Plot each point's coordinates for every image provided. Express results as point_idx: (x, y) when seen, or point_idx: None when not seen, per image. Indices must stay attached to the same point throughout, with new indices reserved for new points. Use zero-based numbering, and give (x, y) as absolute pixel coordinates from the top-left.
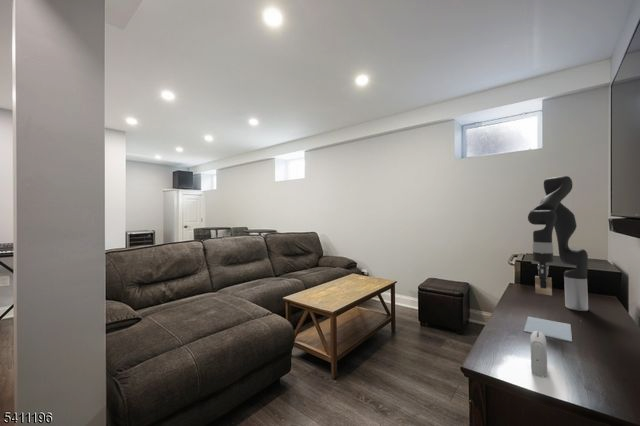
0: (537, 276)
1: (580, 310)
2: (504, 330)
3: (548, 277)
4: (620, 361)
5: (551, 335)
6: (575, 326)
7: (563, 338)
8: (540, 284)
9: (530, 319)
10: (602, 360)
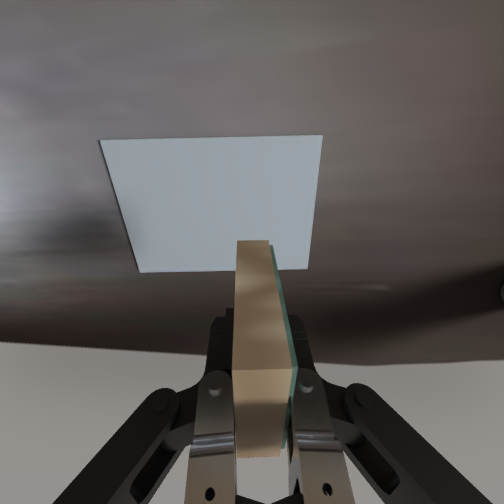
0: (264, 386)
1: (501, 290)
2: (31, 55)
3: (281, 444)
4: (106, 336)
5: (138, 227)
6: (302, 277)
7: (142, 255)
8: (224, 328)
9: (279, 149)
10: (75, 314)
